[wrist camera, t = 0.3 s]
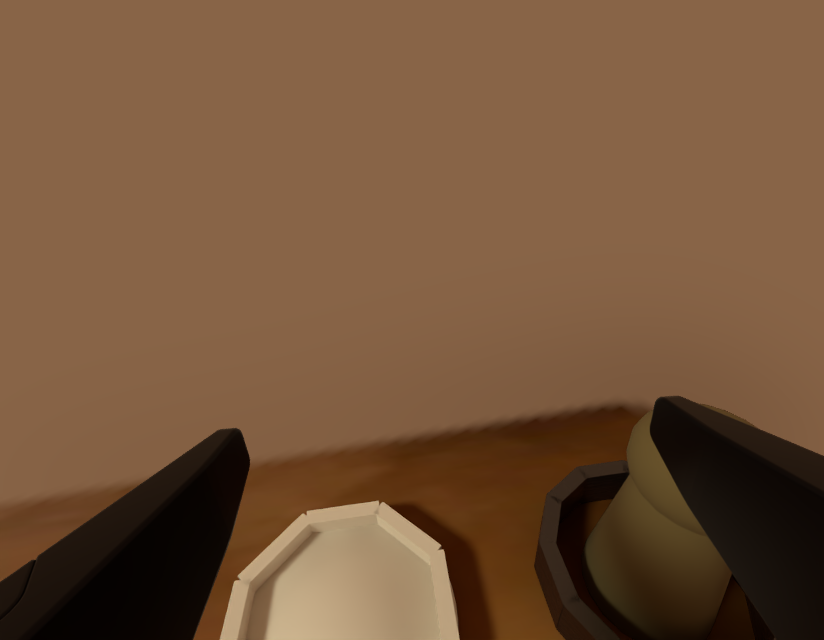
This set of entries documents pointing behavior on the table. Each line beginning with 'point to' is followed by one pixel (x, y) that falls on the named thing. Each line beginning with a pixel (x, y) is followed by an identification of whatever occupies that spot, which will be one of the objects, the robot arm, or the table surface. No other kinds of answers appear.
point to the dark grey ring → (568, 611)
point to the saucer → (345, 581)
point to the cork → (654, 553)
